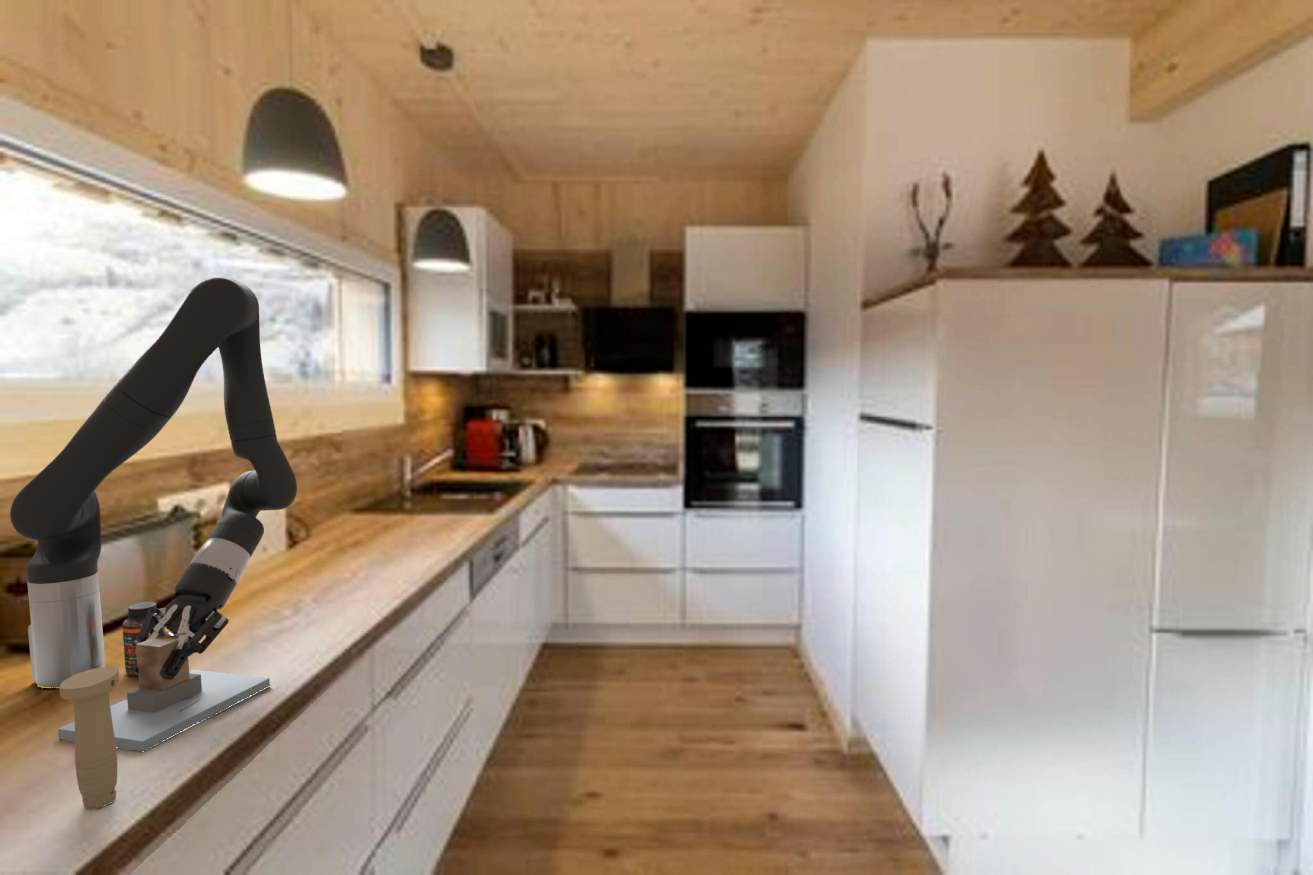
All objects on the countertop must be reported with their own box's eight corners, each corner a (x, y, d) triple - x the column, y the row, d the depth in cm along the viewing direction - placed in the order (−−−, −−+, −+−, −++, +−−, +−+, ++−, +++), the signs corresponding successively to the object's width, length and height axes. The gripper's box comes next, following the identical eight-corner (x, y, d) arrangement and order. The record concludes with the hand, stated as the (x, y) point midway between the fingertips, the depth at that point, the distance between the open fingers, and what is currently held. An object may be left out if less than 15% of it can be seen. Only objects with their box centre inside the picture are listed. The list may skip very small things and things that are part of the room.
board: (59, 739, 107) (58, 728, 107) (195, 678, 128) (194, 669, 128) (143, 752, 102) (142, 741, 102) (270, 687, 123) (269, 677, 123)
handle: (137, 787, 93) (128, 665, 92) (105, 817, 87) (95, 687, 86) (94, 790, 93) (84, 668, 92) (59, 820, 87) (48, 690, 85)
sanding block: (128, 709, 112) (123, 648, 112) (176, 687, 120) (171, 630, 119) (155, 712, 111) (150, 651, 110) (201, 690, 119) (197, 632, 118)
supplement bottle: (116, 676, 129) (111, 609, 128) (144, 663, 135) (140, 599, 134) (148, 677, 129) (143, 610, 128) (175, 664, 134) (171, 600, 134)
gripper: (162, 558, 123) (95, 660, 113) (235, 563, 119) (172, 669, 109) (193, 582, 129) (131, 682, 118) (264, 587, 125) (207, 690, 114)
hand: (151, 675), depth 113 cm, fingers closed on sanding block, 4 cm apart
